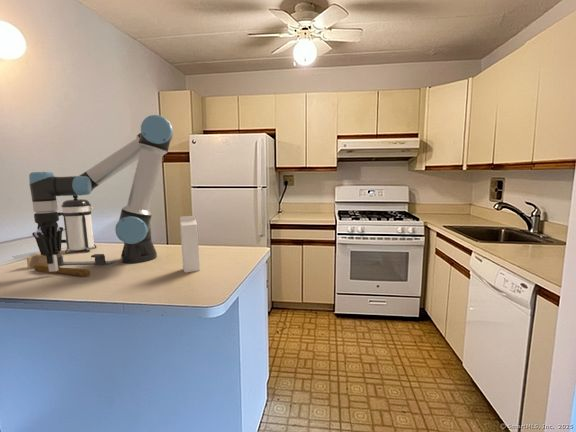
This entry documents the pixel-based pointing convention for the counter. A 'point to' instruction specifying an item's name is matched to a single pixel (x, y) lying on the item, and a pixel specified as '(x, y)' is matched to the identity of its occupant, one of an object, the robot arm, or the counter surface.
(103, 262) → the board
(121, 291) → the counter surface
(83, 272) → the tap handle
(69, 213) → the coffee press
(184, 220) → the milk
